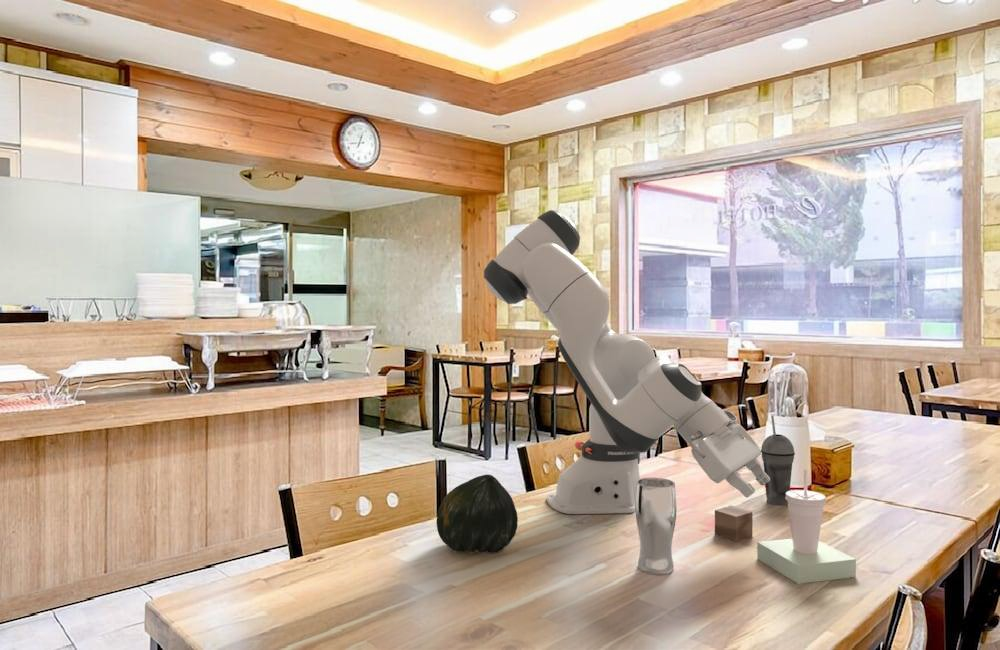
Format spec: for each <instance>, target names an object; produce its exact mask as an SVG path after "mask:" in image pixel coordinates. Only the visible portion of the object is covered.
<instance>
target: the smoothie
mask: <svg viewBox="0 0 1000 650" xmlns="http://www.w3.org/2000/svg"><path fill="white" fill-rule="evenodd" d="M785 499H786V500H787V501H788V504H787V507H788V508H787V509H788V515H789V522H790V531H791V537H792V538H791V539H792V540H793V548H794V550H795V551H796V552H799V553H802V554H816V553H817V549H818V542H819V541H820V540H819V539H820V534H821V533H820V532H821V527H822V521H823V520H822V519H823V513H824V506H825V505H826V503H827V497H826V495H825V494H823V493H820V492H817V491H812V490H808V468H803V489H790V491H788V492H786V497H785Z"/></svg>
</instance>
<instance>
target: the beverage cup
mask: <svg viewBox="0 0 1000 650" xmlns="http://www.w3.org/2000/svg"><path fill="white" fill-rule="evenodd" d="M770 416H771V417H770V418H771V425H772V434H770V435H769V436H767V437H766V438H765V439H764V440H763V442H762V444H761V449H760V451H761V458H762V461H763V463H762V464H763V470H764V472H765V473H766V474H767V475H768V476H769V477H770V481H769V482H767V483H766V484H765V485H764V486H765V494H766V502H767V503H768V504H770V505H775V506H776V505H777V506H785V505H788V501H787V500H786V499H785V497H786V492H788V491H791V480H792V471H793V470H792V469H793V463H794V459H795V454H796V453H795V449H794V445H793V443H792V441H791V440H790V439H789V438H788V437H787V436H785V435H783V434H779V433H777V434H776V425H775V418H774V415H773V414H772V415H770Z"/></svg>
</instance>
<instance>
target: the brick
mask: <svg viewBox="0 0 1000 650" xmlns="http://www.w3.org/2000/svg"><path fill="white" fill-rule="evenodd" d="M753 515H754V513H753V511H750V510H748V509H743V508H740V507H737V506H733V505H729V506H725V507H724V506H723V507H722V508H718V509H715V510H714V535H715V536H718V537H720V538H723V539H726V540H729V541H732V542H735V543H739V542H741V541H744V540H748V539H750V538H753V519H754V518H753Z"/></svg>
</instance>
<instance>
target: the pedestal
mask: <svg viewBox="0 0 1000 650" xmlns="http://www.w3.org/2000/svg"><path fill="white" fill-rule="evenodd" d="M756 544H757V545H756V546H757V548H756V549H757V556H756V557H757V560H759V561H761V562H762V563H764V564H766V565H767V566H768V567H770V568H772V569H774V570H775V571H776V572H778V573H780V574H781V575H783V576H785V577H786V578H788V579H790V580H791V581H793V582H794V583H796V584H809V583H816V582H824V581H825V582H826V581H833V580H841V579H851V578H850V577H852V578H856V577H857V575H856V574H857V572H856V571H857V559H856V558H855V557H852V556H850V555H849V554H846V553H844V552H842V551H840V550H839V549H836V548H834V547H833V546H830V545H828V544H827V543H825V542H823V541H821V540H819V542H818V549H817V553H816V554H802V553H799V552H796V551H795V550H794V548H793V540H792V538H786V539H783V538H782V539H774V540H763V541H757V543H756Z"/></svg>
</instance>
